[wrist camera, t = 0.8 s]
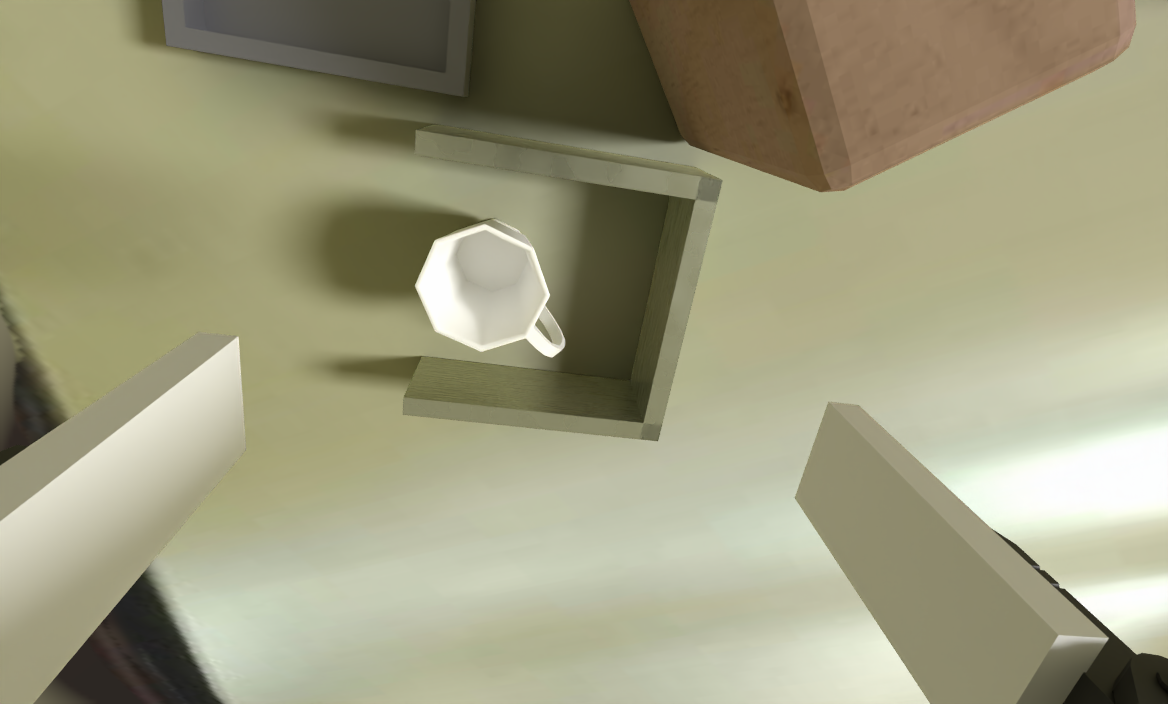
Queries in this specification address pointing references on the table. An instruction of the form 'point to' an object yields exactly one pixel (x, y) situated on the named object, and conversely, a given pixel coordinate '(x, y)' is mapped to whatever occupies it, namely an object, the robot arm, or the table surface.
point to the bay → (676, 272)
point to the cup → (487, 289)
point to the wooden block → (864, 73)
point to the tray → (337, 37)
